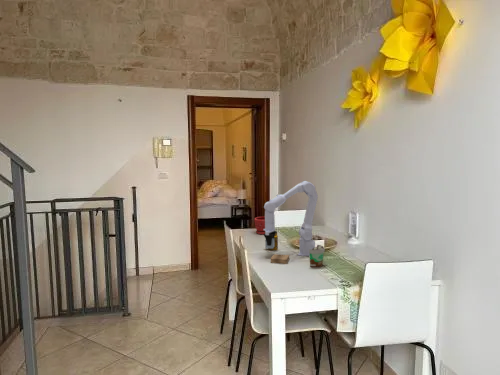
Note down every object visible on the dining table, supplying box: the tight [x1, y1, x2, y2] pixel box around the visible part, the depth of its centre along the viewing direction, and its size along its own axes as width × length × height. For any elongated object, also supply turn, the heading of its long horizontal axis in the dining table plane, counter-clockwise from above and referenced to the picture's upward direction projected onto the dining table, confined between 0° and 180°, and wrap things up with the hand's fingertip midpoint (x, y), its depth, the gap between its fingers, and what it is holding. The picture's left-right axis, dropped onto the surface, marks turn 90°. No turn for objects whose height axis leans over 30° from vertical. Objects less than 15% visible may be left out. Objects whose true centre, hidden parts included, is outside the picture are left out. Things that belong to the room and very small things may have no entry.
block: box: [264, 238, 275, 249], centre depth 218 cm, size 4×4×5 cm
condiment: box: [263, 230, 281, 253], centre depth 231 cm, size 7×8×12 cm
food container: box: [309, 244, 326, 268], centre depth 198 cm, size 12×6×10 cm, turn 148°
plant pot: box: [254, 216, 265, 235], centre depth 278 cm, size 13×13×12 cm
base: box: [270, 253, 290, 265], centre depth 208 cm, size 9×9×2 cm
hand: (270, 244), depth 218 cm, fingers closed on block, 4 cm apart
